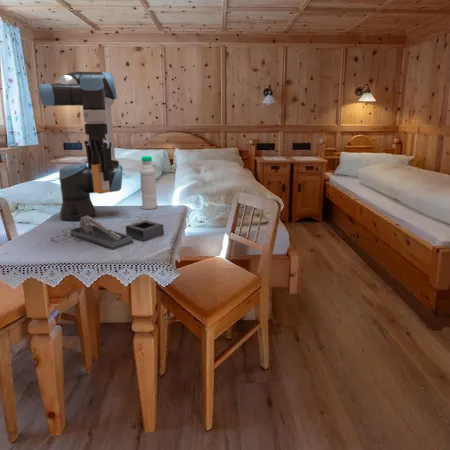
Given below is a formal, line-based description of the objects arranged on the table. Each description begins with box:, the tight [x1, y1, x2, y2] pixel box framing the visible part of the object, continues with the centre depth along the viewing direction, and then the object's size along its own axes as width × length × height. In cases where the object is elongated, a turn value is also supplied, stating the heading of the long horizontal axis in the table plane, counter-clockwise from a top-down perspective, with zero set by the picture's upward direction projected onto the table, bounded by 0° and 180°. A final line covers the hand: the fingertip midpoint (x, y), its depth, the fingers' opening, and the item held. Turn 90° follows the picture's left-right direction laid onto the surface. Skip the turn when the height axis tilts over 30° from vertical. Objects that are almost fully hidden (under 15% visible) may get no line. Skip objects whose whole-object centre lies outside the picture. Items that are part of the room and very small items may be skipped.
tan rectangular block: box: [91, 164, 111, 195], centre depth 147 cm, size 4×4×10 cm
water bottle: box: [139, 155, 158, 210], centre depth 194 cm, size 7×7×25 cm
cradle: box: [69, 224, 134, 251], centre depth 152 cm, size 26×9×2 cm, turn 52°
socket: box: [125, 220, 165, 242], centre depth 156 cm, size 10×10×4 cm
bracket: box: [79, 216, 121, 241], centre depth 151 cm, size 3×21×10 cm, turn 50°
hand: (102, 188), depth 148 cm, fingers closed on tan rectangular block, 4 cm apart
